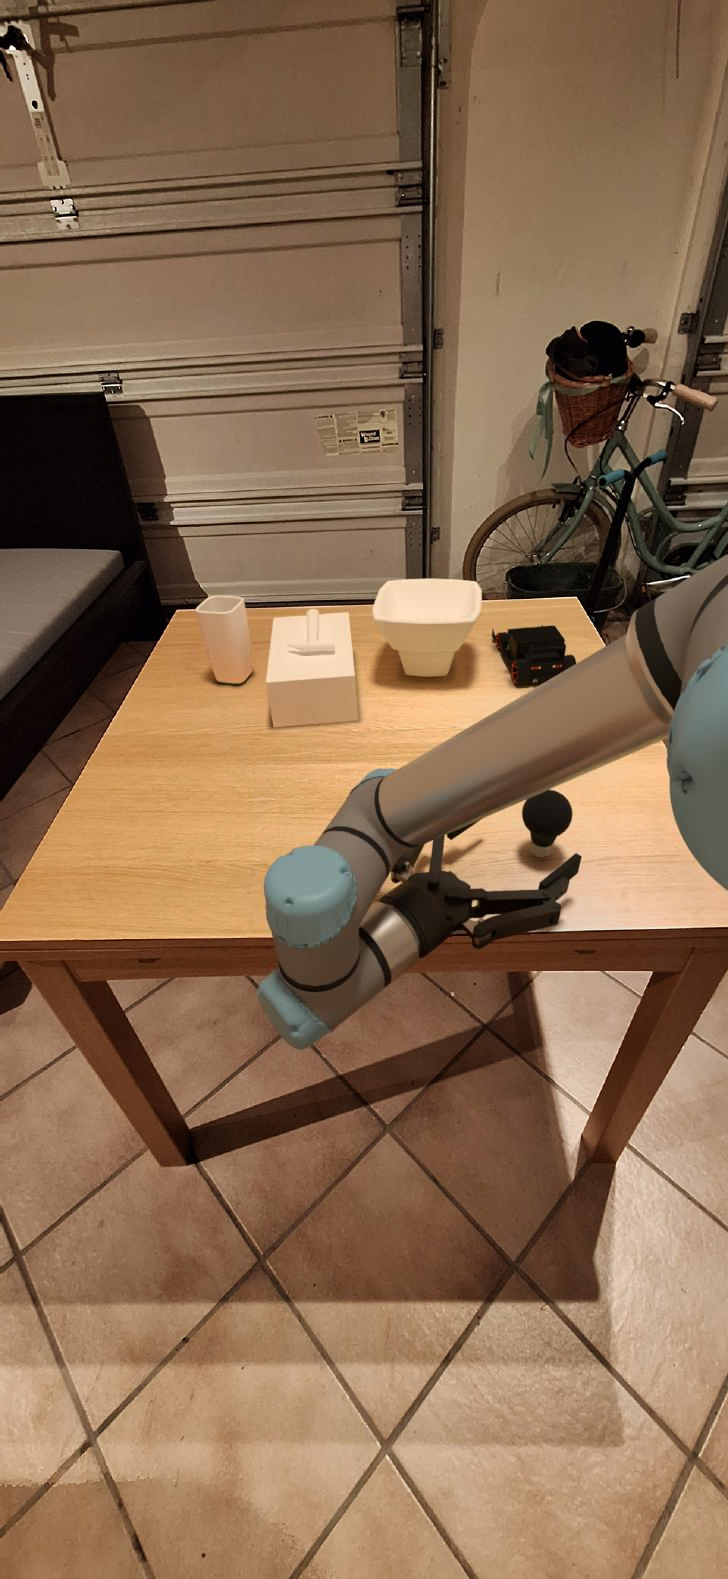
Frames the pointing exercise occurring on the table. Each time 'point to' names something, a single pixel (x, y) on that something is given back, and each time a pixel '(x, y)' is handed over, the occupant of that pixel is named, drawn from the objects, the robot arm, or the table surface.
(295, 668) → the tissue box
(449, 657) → the bowl
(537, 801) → the light bulb
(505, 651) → the toy truck
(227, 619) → the cup
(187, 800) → the table surface
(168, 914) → the table surface
